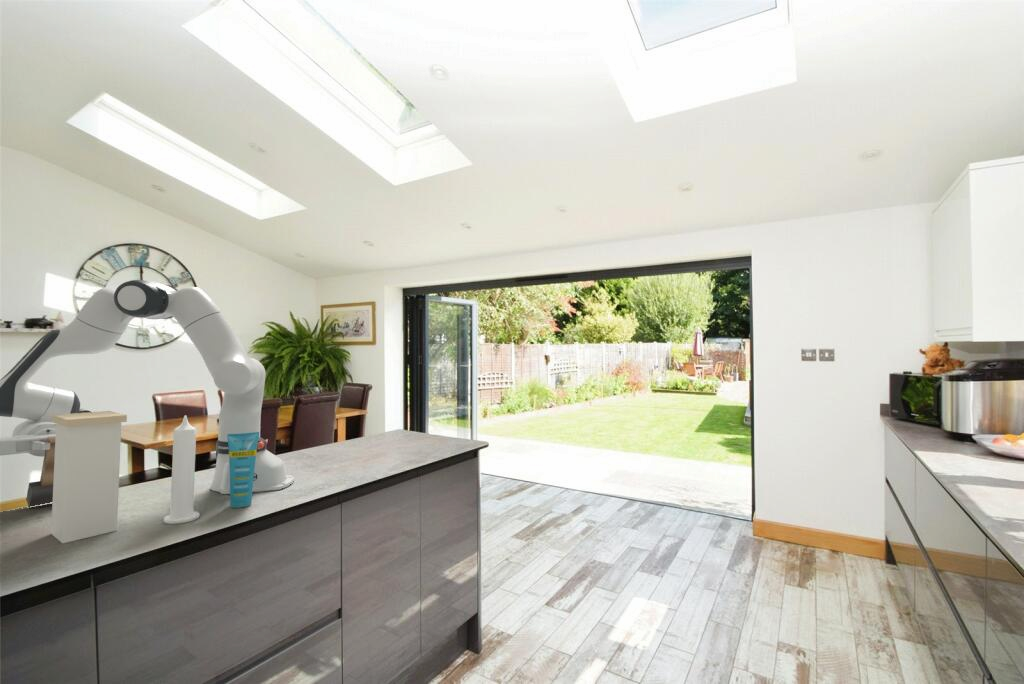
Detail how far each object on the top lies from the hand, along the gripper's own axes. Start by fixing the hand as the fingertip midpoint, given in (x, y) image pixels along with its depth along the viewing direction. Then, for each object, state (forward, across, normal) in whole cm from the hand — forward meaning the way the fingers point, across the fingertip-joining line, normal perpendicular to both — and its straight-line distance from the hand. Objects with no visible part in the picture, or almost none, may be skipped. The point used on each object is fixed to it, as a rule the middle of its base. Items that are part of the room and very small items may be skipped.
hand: (58, 445), depth 117 cm
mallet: (-7, 0, +6) cm, 9 cm away
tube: (+32, +30, +16) cm, 46 cm away
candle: (+31, +16, +16) cm, 39 cm away
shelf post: (+23, 0, +16) cm, 28 cm away
